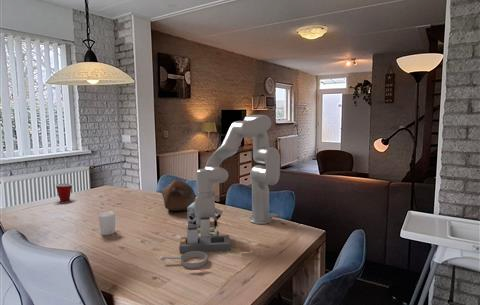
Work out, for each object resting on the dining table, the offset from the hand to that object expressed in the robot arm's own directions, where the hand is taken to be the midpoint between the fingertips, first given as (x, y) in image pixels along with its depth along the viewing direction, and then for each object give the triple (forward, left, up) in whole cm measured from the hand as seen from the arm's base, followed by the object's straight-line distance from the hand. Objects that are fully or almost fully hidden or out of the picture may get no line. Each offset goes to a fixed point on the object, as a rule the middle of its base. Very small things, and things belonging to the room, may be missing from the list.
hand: (205, 228), depth 153 cm
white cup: (+50, -12, -5) cm, 52 cm away
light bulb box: (+5, -20, -5) cm, 21 cm away
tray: (0, 0, -4) cm, 4 cm away
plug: (0, 0, -4) cm, 4 cm away
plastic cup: (+100, -80, -5) cm, 128 cm away
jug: (+12, -45, -5) cm, 47 cm away
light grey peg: (+5, +14, -3) cm, 15 cm away
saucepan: (+8, +28, -5) cm, 30 cm away
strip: (0, +14, -4) cm, 15 cm away
